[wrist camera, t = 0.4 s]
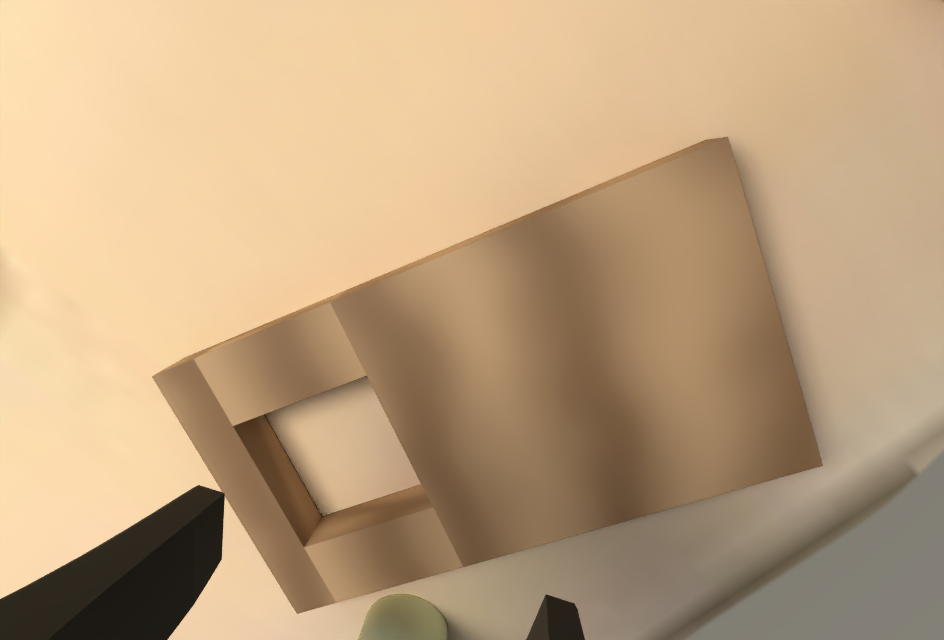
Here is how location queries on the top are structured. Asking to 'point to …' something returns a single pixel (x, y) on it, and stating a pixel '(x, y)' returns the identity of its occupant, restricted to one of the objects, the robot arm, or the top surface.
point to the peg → (403, 620)
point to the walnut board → (520, 384)
